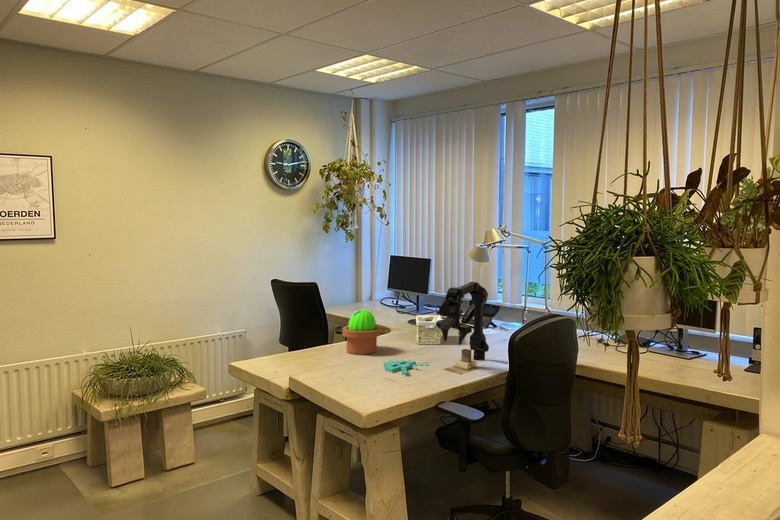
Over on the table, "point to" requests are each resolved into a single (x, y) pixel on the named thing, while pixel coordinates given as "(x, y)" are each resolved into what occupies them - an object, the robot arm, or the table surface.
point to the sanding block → (466, 360)
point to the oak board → (459, 369)
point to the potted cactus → (361, 333)
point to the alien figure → (400, 366)
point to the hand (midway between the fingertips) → (452, 342)
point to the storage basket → (428, 329)
